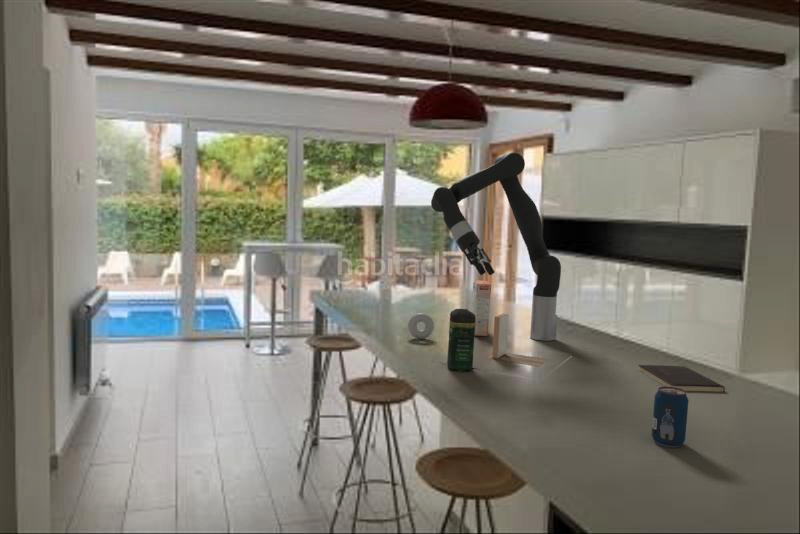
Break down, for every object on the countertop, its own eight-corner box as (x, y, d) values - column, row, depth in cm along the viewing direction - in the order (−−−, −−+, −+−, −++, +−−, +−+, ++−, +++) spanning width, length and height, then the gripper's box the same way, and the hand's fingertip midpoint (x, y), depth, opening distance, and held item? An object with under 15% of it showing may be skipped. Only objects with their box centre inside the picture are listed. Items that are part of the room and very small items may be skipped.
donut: (432, 338, 244) (434, 312, 243) (434, 340, 241) (435, 314, 240) (406, 337, 243) (407, 311, 242) (407, 339, 240) (408, 313, 239)
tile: (492, 358, 213) (494, 316, 212) (501, 353, 221) (503, 313, 220) (497, 358, 213) (500, 317, 211) (506, 353, 220) (509, 313, 219)
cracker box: (488, 337, 251) (491, 284, 249) (473, 336, 251) (476, 283, 249) (484, 330, 265) (487, 280, 263) (470, 329, 265) (472, 279, 263)
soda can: (675, 437, 146) (680, 386, 145) (690, 449, 139) (695, 395, 138) (645, 436, 146) (650, 385, 144) (659, 448, 139) (663, 394, 138)
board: (497, 353, 224) (497, 351, 224) (547, 360, 215) (548, 359, 215) (484, 359, 213) (485, 357, 213) (537, 368, 205) (538, 366, 205)
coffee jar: (474, 372, 196) (477, 312, 194) (448, 371, 196) (452, 311, 194) (470, 364, 206) (473, 307, 204) (445, 363, 206) (448, 306, 204)
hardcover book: (670, 392, 186) (671, 384, 185) (637, 371, 208) (638, 364, 208) (724, 393, 186) (725, 386, 186) (685, 373, 209) (686, 366, 209)
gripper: (464, 228, 222) (489, 267, 217) (480, 231, 234) (503, 268, 230) (448, 241, 225) (472, 279, 220) (464, 243, 237) (487, 279, 233)
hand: (488, 273), depth 225 cm, fingers open, 8 cm apart
